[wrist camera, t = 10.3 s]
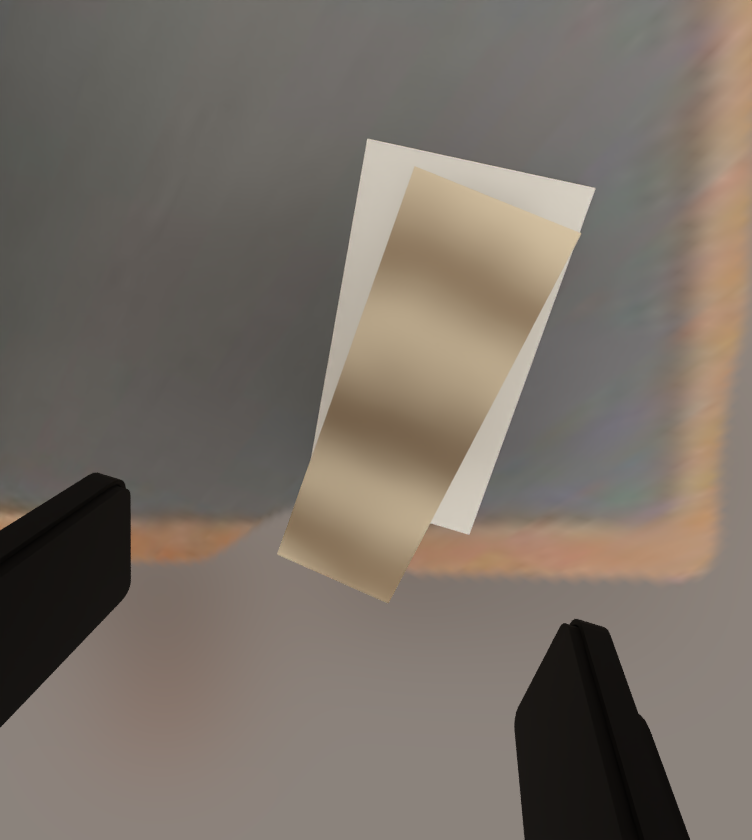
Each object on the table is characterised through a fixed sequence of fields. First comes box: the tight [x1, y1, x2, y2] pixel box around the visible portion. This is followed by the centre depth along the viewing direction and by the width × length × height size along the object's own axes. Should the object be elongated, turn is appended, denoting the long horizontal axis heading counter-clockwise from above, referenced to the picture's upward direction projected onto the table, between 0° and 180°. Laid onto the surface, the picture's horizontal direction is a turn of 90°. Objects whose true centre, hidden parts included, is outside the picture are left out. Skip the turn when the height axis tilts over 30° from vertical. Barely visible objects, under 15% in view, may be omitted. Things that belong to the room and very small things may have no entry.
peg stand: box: [311, 139, 595, 534], centre depth 26 cm, size 12×22×9 cm, turn 168°
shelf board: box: [277, 166, 581, 603], centre depth 20 cm, size 18×6×3 cm, turn 159°
